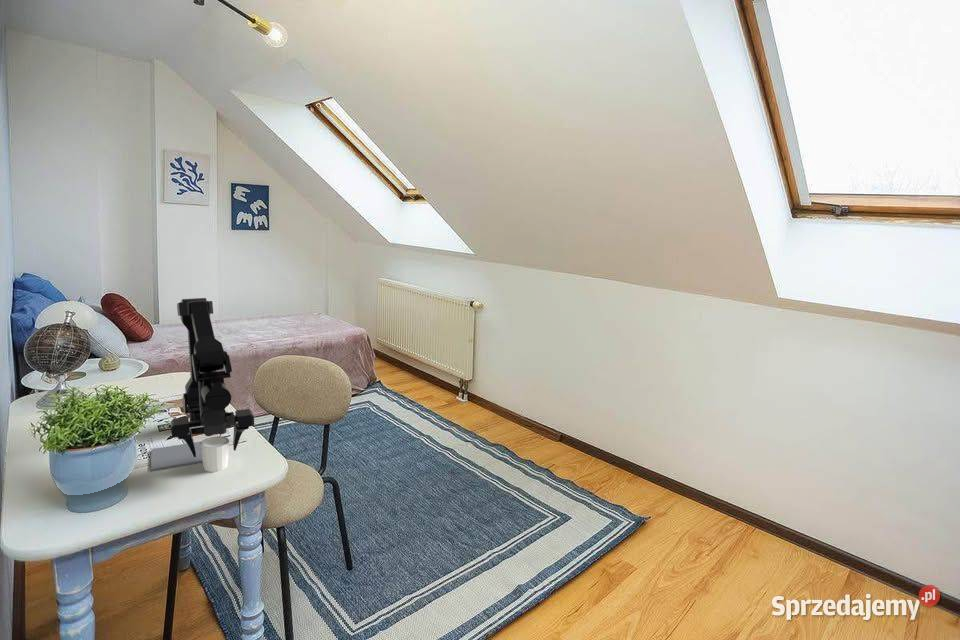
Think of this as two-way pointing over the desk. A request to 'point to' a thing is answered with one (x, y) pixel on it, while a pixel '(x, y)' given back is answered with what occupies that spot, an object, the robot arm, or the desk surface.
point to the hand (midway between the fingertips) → (215, 453)
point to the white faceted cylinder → (214, 453)
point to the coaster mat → (174, 456)
